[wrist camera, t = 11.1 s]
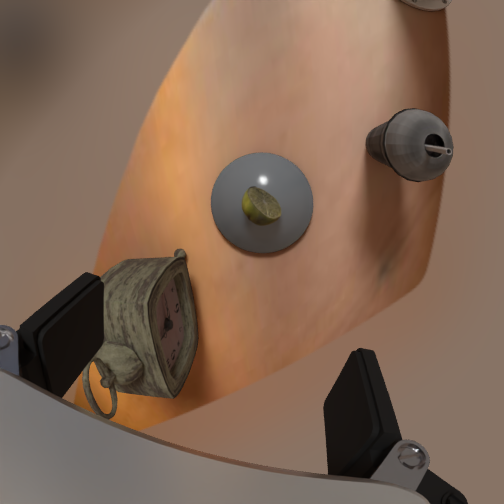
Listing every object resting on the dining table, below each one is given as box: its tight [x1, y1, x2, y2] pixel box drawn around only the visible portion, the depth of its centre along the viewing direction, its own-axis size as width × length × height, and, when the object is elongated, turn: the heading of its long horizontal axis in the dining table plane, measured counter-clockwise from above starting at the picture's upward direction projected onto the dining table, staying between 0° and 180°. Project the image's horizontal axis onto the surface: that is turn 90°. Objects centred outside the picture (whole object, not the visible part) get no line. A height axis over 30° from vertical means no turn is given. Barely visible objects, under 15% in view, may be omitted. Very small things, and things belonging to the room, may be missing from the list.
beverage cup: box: [366, 108, 453, 182], centre depth 28 cm, size 7×7×20 cm
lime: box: [242, 186, 281, 226], centre depth 38 cm, size 4×5×5 cm
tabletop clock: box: [82, 249, 199, 420], centre depth 34 cm, size 14×9×25 cm, turn 5°
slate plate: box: [211, 153, 313, 253], centre depth 41 cm, size 13×13×1 cm
